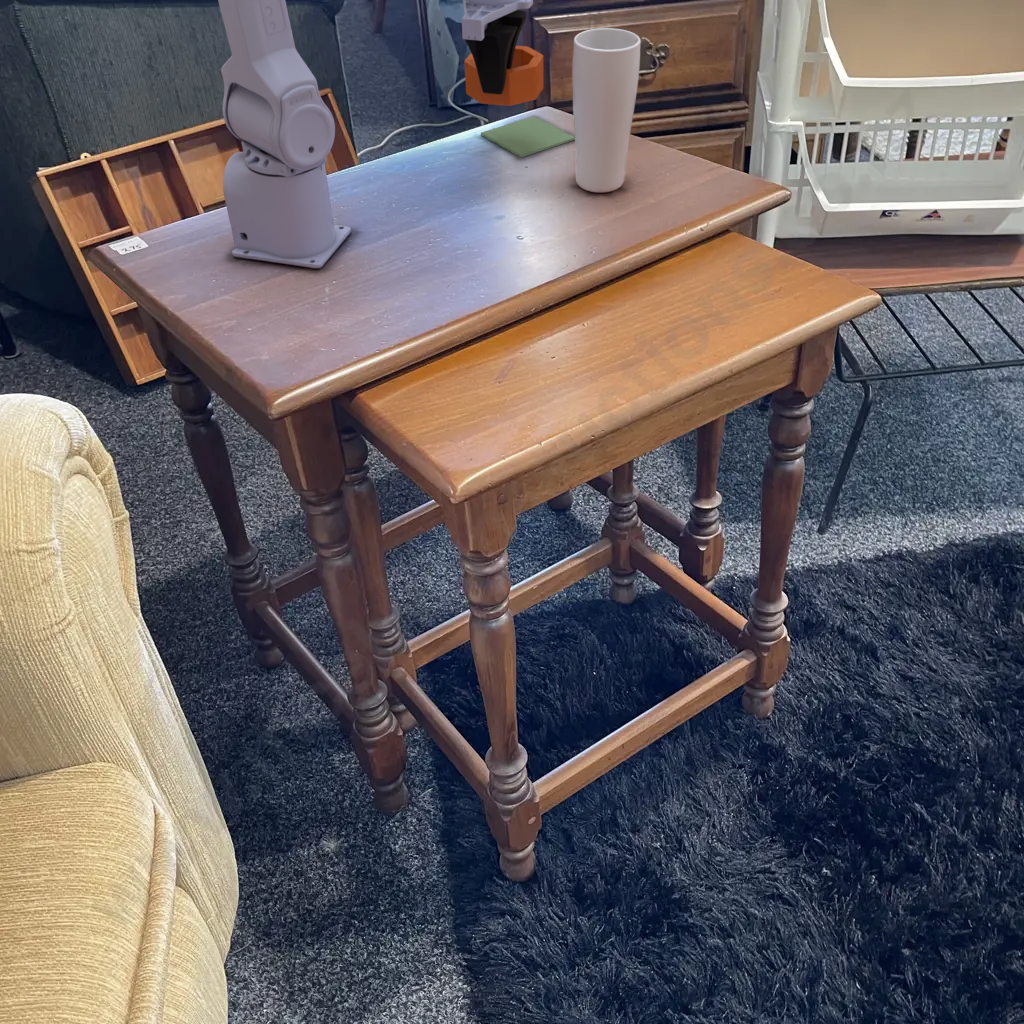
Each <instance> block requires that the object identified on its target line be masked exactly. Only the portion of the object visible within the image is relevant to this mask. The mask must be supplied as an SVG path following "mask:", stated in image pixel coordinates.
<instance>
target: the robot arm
mask: <svg viewBox="0 0 1024 1024" xmlns="http://www.w3.org/2000/svg"><path fill="white" fill-rule="evenodd" d="M217 2H218V5H219V10H220V13H221V17H222V21H223V25H224V29H225V33H226V36H227V41H228V44H229V48H230V52H231V55H230V57H229V58H228V59H227V60H226V61H225V63H224V64H223V65H222V67H221V68H220V72H221V73H220V74H221V76H222V80H223V86H224V89H223V91H224V93H223V100H222V110H221V111H222V117H223V121H224V124H225V126H226V128H227V129H228V131H229V132H230V133H231V135H233V136H234V137H235V138H237V139H238V140H239V141H240V143H241V146H242V147H241V148H242V151H237V152H234V153H233V154H232V155H230V157H229V158H228V160H227V162H226V164H225V167H224V170H223V178H222V191H223V197H224V202H225V207H226V211H227V215H228V220H229V224H230V229H231V234H232V238H233V242H234V246H235V247H234V248H233V249H232V251H231V254H232V256H233V257H235V258H240V259H250V260H255V261H263V262H269V263H275V264H276V263H277V264H283V265H284V264H285V265H291V266H297V267H304V268H312V269H321V268H323V266H325V264H326V262H327V261H328V260H329V259H330V258H331V257H332V256H333V254H335V252H336V251H337V249H338V248H339V247H340V246H341V245H342V243H344V241H345V240H346V239H347V237H348V236H349V235H350V234H351V233H352V228H351V227H350V226H348V225H340V224H334V223H335V222H334V217H333V210H332V204H331V203H332V202H331V196H330V189H329V182H328V175H327V168H326V164H327V162H328V160H327V157H328V155H330V152H331V150H332V148H333V145H334V142H335V137H336V123H335V118H334V116H333V114H332V112H331V109H330V108H329V107H328V105H327V104H326V103H325V102H324V100H323V98H322V97H321V94H320V90H319V86H318V85H319V84H318V82H317V79H316V77H315V75H314V74H313V73H312V71H311V69H310V68H309V67H308V65H307V64H306V61H304V59H303V58H302V57H301V55H300V53H299V52H298V50H297V48H296V44H295V40H294V36H293V30H292V25H291V21H290V17H289V12H288V7H287V2H286V0H217ZM533 5H534V0H462V7H463V16H462V17H461V23H460V24H459V26H460V34H461V37H462V38H461V39H462V40H464V41H465V42H466V44H467V47H468V49H469V51H470V54H471V53H472V55H473V58H474V61H475V65H476V68H477V72H478V76H479V80H480V84H481V88H482V91H483V93H489V94H502V92H503V89H504V85H505V79H506V69H511V68H512V62H513V56H514V51H515V47H516V46H517V43H518V40H519V36H520V35H521V32H522V29H523V26H524V25H525V22H526V19H527V11H525V10H529V9H530V8H532V6H533Z"/></svg>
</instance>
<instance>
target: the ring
mask: <svg viewBox="0 0 1024 1024" xmlns="http://www.w3.org/2000/svg"><path fill="white" fill-rule="evenodd" d="M463 61H464V79H465V94H466V95H467V96H469V97H470V98H472V99H473V100H474V101H476V102H477V103H479V104H482V105H495V106H507V107H511V106H515V105H519V104H523V103H527V102H531V101H535V100H537V99H538V98H539V96H540V94H541V92H542V91H543V90H544V55H543V54H542V53H540V52H538V51H537V50H535V49H533V48H531V47H530V46H527V45H526V46H525V45H516V47H515V51H514V56H513V62H512V68H511V69H506V79H505V85H504V89H503V92H502V94H489V93H483V91H482V88H481V84H480V80H479V76H478V72H477V68H476V65H475V61H474V58H473V55H472V53H471V52H470V54H469V55H468V56H467V57H466V59H464V60H463Z"/></svg>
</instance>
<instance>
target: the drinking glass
mask: <svg viewBox="0 0 1024 1024" xmlns="http://www.w3.org/2000/svg"><path fill="white" fill-rule="evenodd" d="M641 44H642V40H641V37H640V36H639V35H638V34H637V33H635V32H632V31H630V30H627V29H620V28H614V27H613V28H612V27H600V28H599V27H597V28H592V29H588V30H587V29H586V30H583V31H581V32H579V33H578V34H576V35H575V36H574V38H573V44H572V45H573V46H572V59H571V61H572V62H571V95H572V114H573V115H572V116H573V133H574V135H573V136H574V137H575V140H574V149H575V150H574V152H575V153H574V156H575V170H574V171H575V172H574V173H575V176H574V178H575V183H576V184H577V185H578V186H579V188H581V189H582V190H585V191H588V192H591V193H598V194H599V193H603V194H604V193H610V192H613V191H616V190H618V189H619V188H621V187H622V186H623V184H624V182H625V178H626V166H627V158H628V151H629V145H630V138H631V132H632V127H633V126H632V125H633V118H634V114H635V108H636V107H635V106H636V100H637V94H638V87H639V79H640V70H641V69H640V67H641Z"/></svg>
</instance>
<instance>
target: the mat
mask: <svg viewBox="0 0 1024 1024" xmlns="http://www.w3.org/2000/svg"><path fill="white" fill-rule="evenodd" d="M480 136H482V137H484V138H485V139H487V140H489V141H491V142H492V143H494V144H496V145H497V146H500V147H501V148H503V149H505V150H507V151H509V152H510V153H513V154H514V155H516V156H517V157H519V158H525V157H528V156H530V155H533V154H536V153H540V152H542V151H545V150H548V149H552V148H555V147H557V146H561V145H564V144H566V143H570V142H572V141H575V135H572V134H570V133H568V132H565V131H564V130H562V129H560V128H558V127H556V126H554V125H552V124H550V123H548V122H546V121H544V120H542V119H541V118H539V117H537V116H534V115H533V116H530V117H527V118H523V119H521V120H517V121H514V122H511V123H507V124H504V125H501V126H498V127H494V128H491V129H487V130H485V131H482V132H480Z"/></svg>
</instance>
